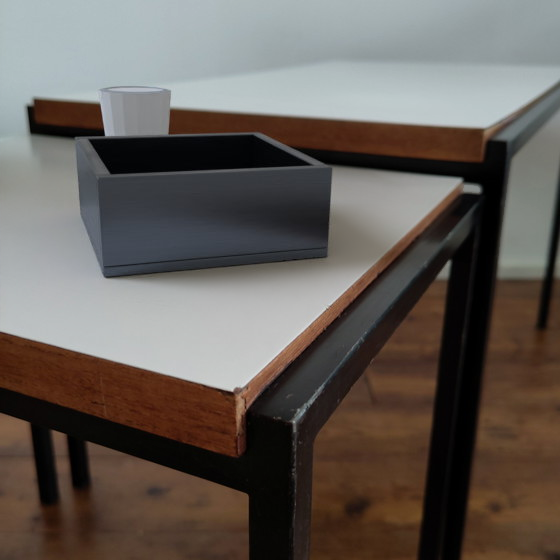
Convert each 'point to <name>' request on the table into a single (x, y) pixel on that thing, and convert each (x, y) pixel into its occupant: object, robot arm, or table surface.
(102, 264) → the dark grey storage bin
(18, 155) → the table surface
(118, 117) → the white cup
